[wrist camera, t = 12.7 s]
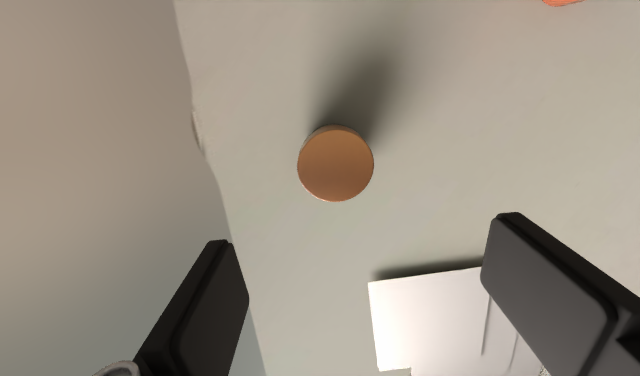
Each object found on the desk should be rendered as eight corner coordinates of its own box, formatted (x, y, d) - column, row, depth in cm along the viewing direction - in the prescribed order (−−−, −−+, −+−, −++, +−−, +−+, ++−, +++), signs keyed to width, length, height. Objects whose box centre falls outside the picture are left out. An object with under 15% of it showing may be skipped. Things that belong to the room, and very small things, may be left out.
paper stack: (577, 248, 28) (583, 252, 27) (536, 381, 38) (540, 386, 37) (366, 278, 29) (367, 282, 28) (381, 398, 39) (382, 403, 39)
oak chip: (293, 129, 20) (291, 134, 19) (368, 121, 20) (373, 125, 18) (303, 196, 23) (302, 205, 21) (370, 189, 22) (374, 198, 21)
